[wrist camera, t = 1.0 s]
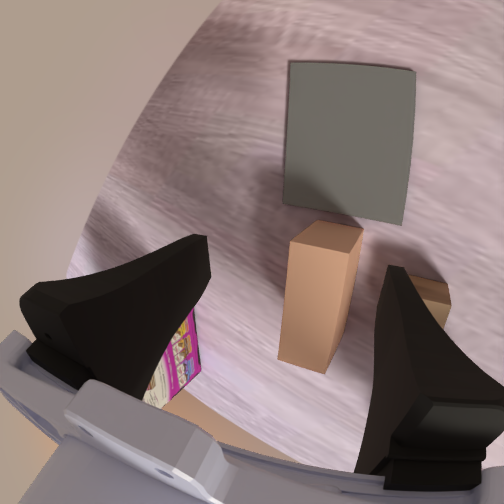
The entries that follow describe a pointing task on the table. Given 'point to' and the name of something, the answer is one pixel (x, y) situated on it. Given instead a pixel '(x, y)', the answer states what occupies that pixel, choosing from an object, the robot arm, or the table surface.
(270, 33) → the table surface
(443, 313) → the brown cube
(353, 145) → the mat
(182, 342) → the candy bar box
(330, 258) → the block
